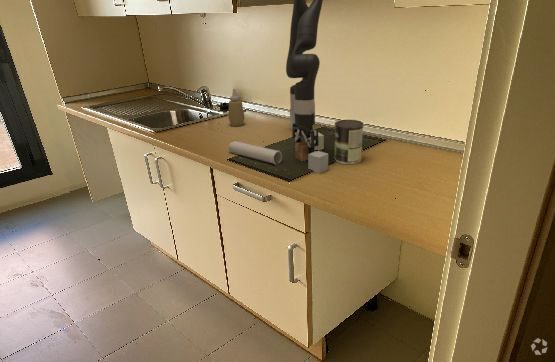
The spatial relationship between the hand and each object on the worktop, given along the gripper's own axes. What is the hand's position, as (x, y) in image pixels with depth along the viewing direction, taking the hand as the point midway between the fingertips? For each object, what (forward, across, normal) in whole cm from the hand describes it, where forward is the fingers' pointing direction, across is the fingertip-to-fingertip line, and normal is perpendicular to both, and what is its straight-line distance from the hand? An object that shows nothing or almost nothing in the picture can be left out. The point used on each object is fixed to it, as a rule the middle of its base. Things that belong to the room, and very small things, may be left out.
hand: (305, 153), depth 146 cm
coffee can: (+3, +10, +13) cm, 16 cm away
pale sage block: (+2, -7, +10) cm, 13 cm away
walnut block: (+2, 0, 0) cm, 2 cm away
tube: (+3, -13, -16) cm, 21 cm away
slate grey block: (+3, +12, -2) cm, 12 cm away
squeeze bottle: (+2, -59, -2) cm, 59 cm away
